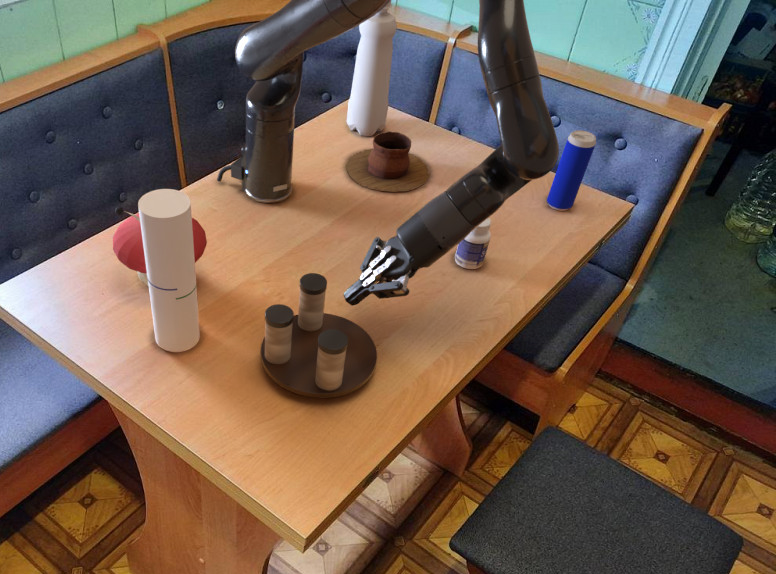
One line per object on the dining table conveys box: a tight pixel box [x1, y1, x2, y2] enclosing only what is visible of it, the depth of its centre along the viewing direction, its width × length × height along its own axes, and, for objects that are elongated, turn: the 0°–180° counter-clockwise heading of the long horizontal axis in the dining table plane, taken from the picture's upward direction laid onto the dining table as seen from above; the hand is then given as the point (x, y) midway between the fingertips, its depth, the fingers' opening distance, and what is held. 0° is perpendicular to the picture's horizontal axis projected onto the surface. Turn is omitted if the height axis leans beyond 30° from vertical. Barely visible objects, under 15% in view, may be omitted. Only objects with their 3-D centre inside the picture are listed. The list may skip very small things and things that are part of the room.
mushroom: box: [112, 206, 208, 288], centre depth 122 cm, size 16×16×15 cm
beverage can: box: [546, 129, 597, 212], centre depth 142 cm, size 5×5×15 cm
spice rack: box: [260, 272, 378, 399], centre depth 110 cm, size 18×18×9 cm
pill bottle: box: [454, 217, 492, 270], centre depth 130 cm, size 5×5×9 cm
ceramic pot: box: [345, 130, 431, 193], centre depth 152 cm, size 18×18×7 cm
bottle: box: [346, 0, 398, 137], centre depth 157 cm, size 9×9×30 cm
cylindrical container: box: [137, 188, 201, 353], centre depth 108 cm, size 7×7×25 cm
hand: (347, 300), depth 115 cm, fingers closed
